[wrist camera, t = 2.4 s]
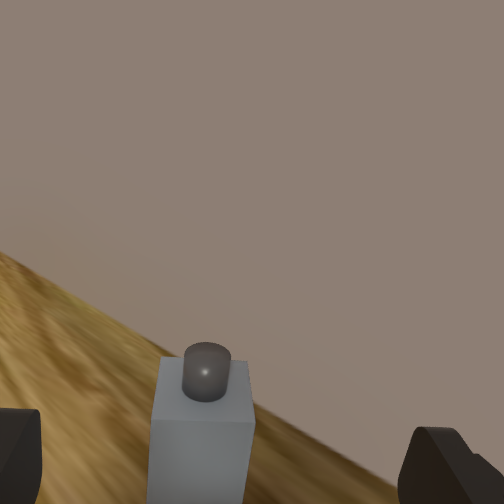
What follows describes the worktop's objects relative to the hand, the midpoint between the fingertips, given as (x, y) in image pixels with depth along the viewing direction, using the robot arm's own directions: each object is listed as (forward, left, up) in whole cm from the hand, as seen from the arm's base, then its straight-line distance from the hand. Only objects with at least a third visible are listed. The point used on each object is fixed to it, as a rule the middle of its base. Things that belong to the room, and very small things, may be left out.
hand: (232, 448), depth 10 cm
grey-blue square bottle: (0, -12, -20) cm, 24 cm away
